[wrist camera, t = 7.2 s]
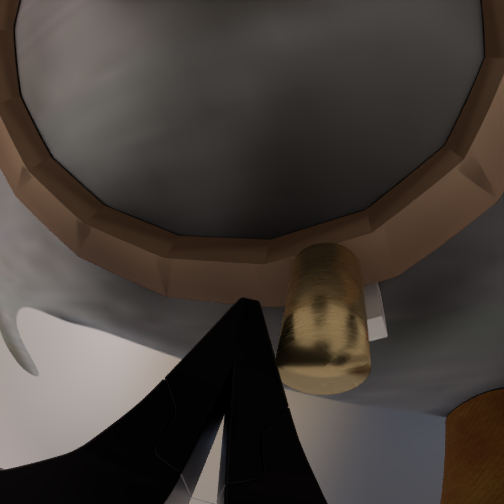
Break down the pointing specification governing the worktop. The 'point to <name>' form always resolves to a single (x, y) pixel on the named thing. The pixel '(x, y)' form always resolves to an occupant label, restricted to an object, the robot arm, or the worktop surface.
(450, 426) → the disposable coffee cup
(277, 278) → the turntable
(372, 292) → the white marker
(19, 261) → the worktop surface
